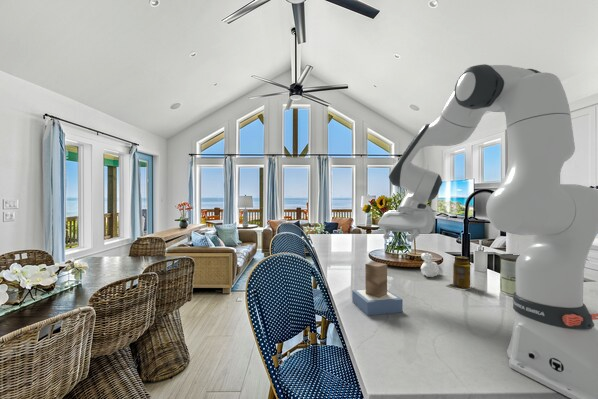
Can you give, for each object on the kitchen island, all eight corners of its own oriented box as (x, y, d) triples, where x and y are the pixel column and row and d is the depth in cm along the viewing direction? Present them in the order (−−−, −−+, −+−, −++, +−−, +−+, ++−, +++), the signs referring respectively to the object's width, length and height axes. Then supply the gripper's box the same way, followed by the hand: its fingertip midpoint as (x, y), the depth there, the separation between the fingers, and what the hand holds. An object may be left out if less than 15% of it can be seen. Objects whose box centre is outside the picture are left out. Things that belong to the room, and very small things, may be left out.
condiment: (474, 287, 114) (474, 257, 114) (464, 291, 110) (464, 260, 110) (456, 282, 121) (456, 254, 120) (445, 286, 116) (445, 257, 116)
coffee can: (495, 288, 113) (495, 253, 113) (526, 290, 110) (525, 254, 110) (506, 297, 103) (506, 258, 103) (540, 299, 100) (540, 259, 100)
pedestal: (402, 311, 90) (402, 298, 90) (367, 315, 88) (367, 301, 88) (383, 298, 102) (383, 287, 102) (352, 301, 99) (352, 289, 99)
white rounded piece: (435, 277, 136) (422, 256, 142) (448, 270, 131) (433, 249, 137) (421, 282, 129) (408, 259, 135) (434, 274, 124) (419, 252, 130)
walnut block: (387, 294, 94) (387, 264, 94) (378, 297, 91) (378, 266, 91) (374, 290, 98) (374, 261, 98) (365, 293, 95) (365, 264, 95)
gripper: (383, 205, 115) (369, 231, 109) (433, 205, 100) (421, 236, 93) (389, 215, 118) (376, 242, 112) (439, 217, 103) (427, 248, 96)
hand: (397, 239), depth 103 cm, fingers open, 8 cm apart
